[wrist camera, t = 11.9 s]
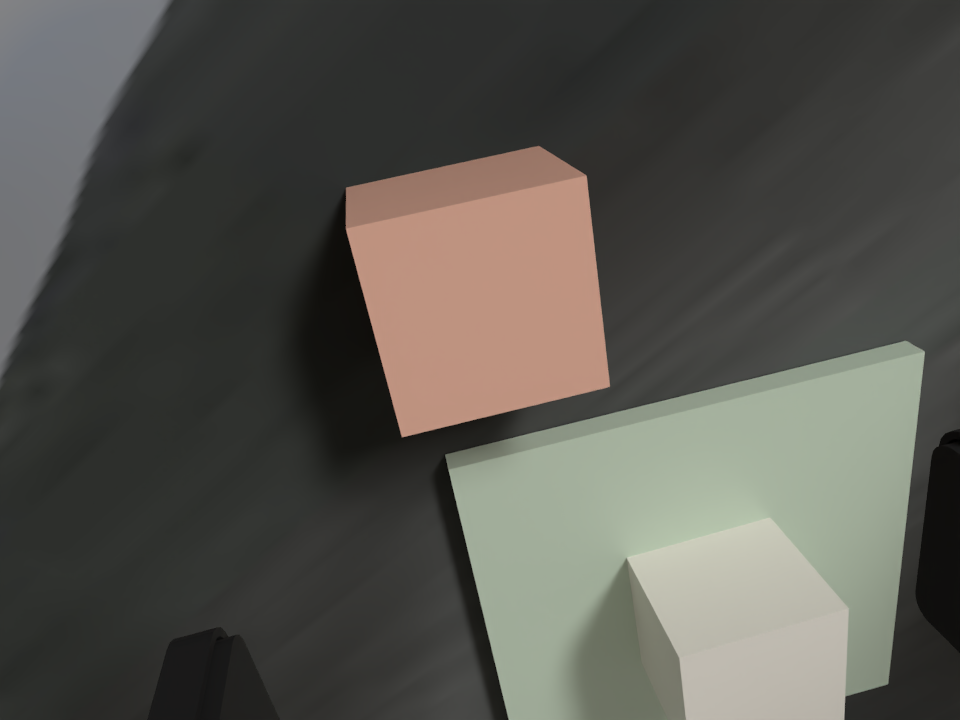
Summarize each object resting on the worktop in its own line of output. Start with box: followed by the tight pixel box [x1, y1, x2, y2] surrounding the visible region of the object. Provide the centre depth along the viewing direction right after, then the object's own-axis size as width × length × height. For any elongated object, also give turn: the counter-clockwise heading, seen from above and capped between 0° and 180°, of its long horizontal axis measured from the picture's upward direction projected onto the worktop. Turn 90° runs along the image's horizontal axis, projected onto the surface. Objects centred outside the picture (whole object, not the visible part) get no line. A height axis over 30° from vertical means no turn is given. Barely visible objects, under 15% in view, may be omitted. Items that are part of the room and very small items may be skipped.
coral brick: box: [346, 146, 610, 437], centre depth 21 cm, size 6×6×5 cm
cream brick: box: [627, 518, 849, 720], centre depth 27 cm, size 6×6×5 cm
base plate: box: [445, 341, 925, 720], centre depth 30 cm, size 18×18×1 cm
